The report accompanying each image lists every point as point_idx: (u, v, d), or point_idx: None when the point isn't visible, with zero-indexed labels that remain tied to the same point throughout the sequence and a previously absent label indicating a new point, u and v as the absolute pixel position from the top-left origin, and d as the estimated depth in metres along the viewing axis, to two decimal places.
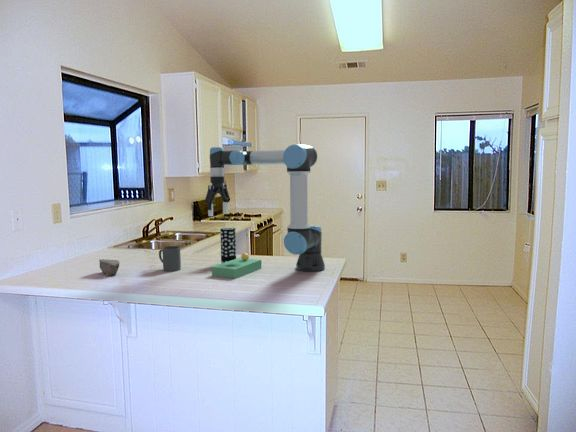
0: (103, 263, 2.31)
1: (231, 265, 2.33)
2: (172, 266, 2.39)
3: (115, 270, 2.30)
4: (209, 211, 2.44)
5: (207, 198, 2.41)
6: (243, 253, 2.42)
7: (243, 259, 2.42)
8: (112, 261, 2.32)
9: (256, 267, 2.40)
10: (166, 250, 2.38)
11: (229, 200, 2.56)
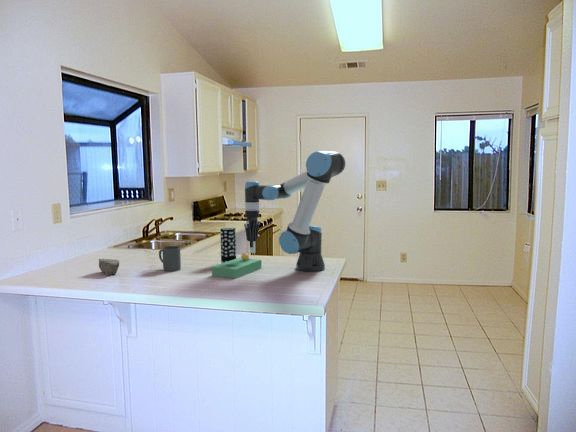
0: (103, 263, 2.32)
1: (231, 265, 2.33)
2: (172, 266, 2.39)
3: (115, 269, 2.32)
4: (250, 248, 2.49)
5: (248, 237, 2.45)
6: (243, 253, 2.42)
7: (243, 259, 2.42)
8: (112, 260, 2.33)
9: (256, 267, 2.40)
10: (166, 250, 2.38)
11: None
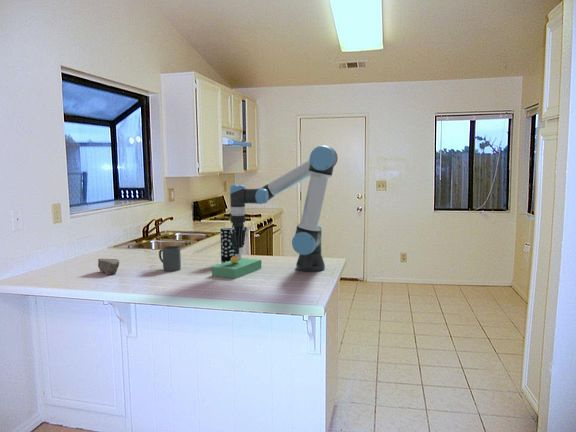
0: (103, 262, 2.34)
1: (231, 265, 2.33)
2: (172, 266, 2.39)
3: (115, 269, 2.33)
4: (236, 255, 2.37)
5: (233, 243, 2.33)
6: None
7: (233, 256, 2.34)
8: (112, 260, 2.35)
9: (256, 267, 2.40)
10: (166, 250, 2.38)
11: None
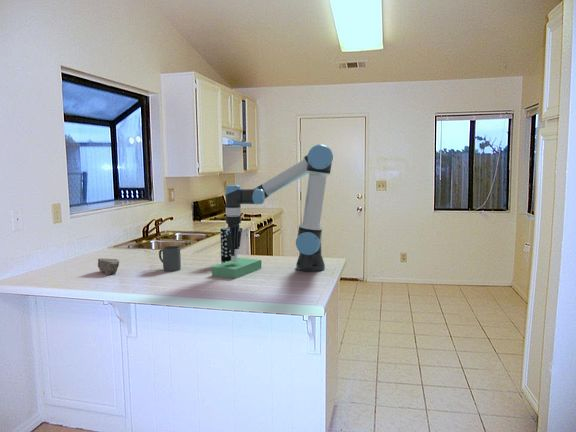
0: (102, 262, 2.34)
1: (231, 265, 2.33)
2: (172, 266, 2.39)
3: (115, 269, 2.33)
4: (232, 257, 2.33)
5: (229, 244, 2.29)
6: None
7: None
8: (111, 260, 2.35)
9: (256, 267, 2.40)
10: (166, 250, 2.38)
11: None
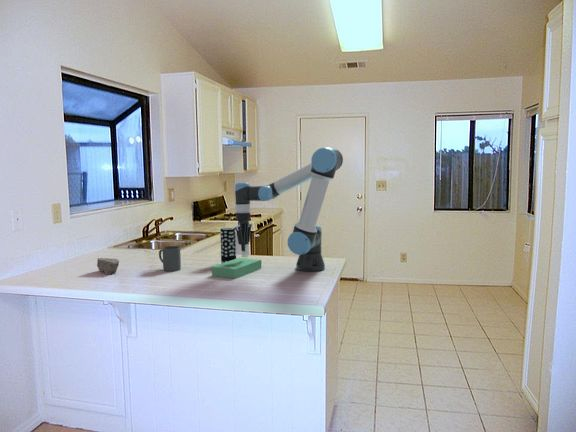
0: (102, 262, 2.35)
1: (231, 265, 2.33)
2: (172, 266, 2.39)
3: (115, 268, 2.34)
4: (242, 252, 2.41)
5: (239, 240, 2.37)
6: None
7: None
8: (111, 260, 2.36)
9: (256, 267, 2.40)
10: (166, 250, 2.38)
11: None
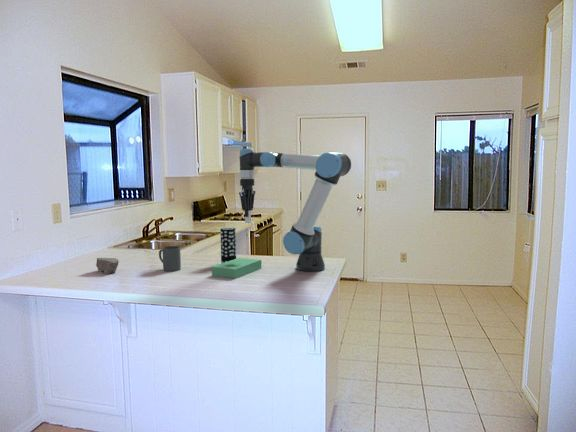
0: (102, 261, 2.35)
1: (231, 265, 2.33)
2: (172, 266, 2.39)
3: (115, 268, 2.36)
4: (246, 218, 2.43)
5: (243, 205, 2.39)
6: None
7: None
8: (111, 259, 2.37)
9: (256, 267, 2.40)
10: (166, 250, 2.38)
11: (252, 209, 2.44)
